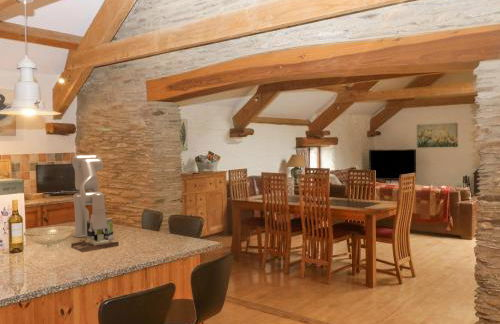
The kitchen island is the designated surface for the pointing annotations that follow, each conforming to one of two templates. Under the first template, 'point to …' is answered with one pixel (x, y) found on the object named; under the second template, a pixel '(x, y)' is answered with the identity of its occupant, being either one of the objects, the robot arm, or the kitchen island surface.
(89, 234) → the tea box
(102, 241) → the panel
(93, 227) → the robot arm
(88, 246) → the board
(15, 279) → the kitchen island surface
